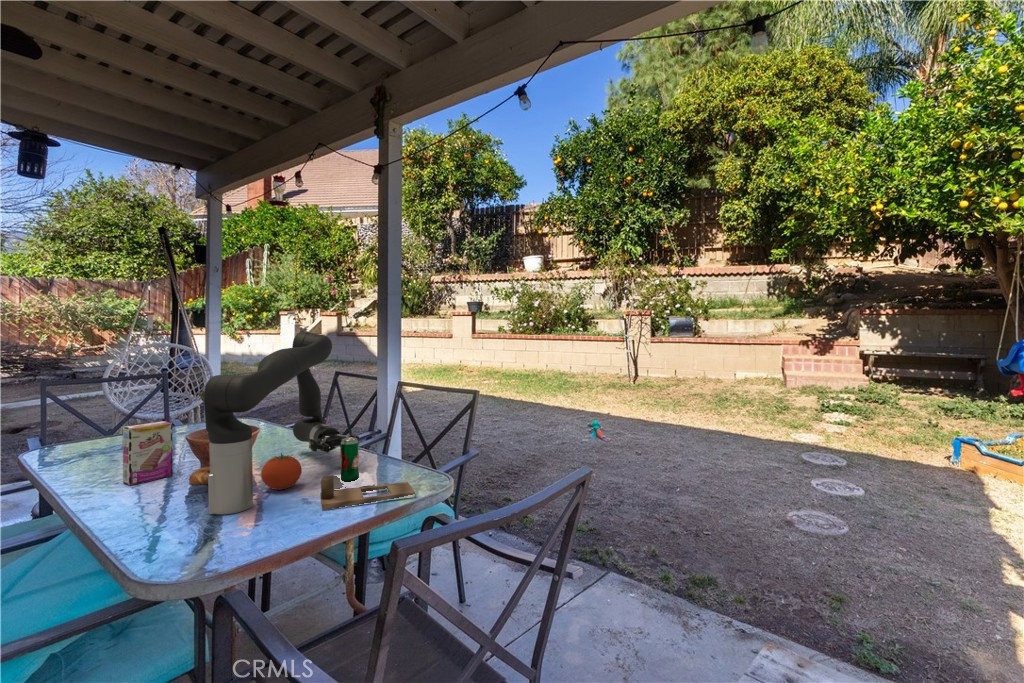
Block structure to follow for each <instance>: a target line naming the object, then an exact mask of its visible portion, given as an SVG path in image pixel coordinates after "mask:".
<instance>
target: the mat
mask: <svg viewBox="0 0 1024 683" xmlns="http://www.w3.org/2000/svg"><path fill="white" fill-rule="evenodd" d="M334 475H335V474H333V475H326V477H334V489H340V488H342V487H343V486H342V485H344V484H343V483H341V482H340V478H338V477H337V476H334ZM345 488H346V487H345Z"/></svg>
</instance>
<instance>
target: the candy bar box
mask: <svg viewBox="0 0 1024 683" xmlns="http://www.w3.org/2000/svg"><path fill="white" fill-rule="evenodd" d="M121 432H122V483H123V484H125V485H128V486H129V485H131V486H135V485H138V484H143V482H144V483H148V482H152V481H157V480H160V478H161V479H164V477H165V478H168V477H169V476H170V477H173V422H171V421H166V420H165V421H164V420H163V421H156V422H149V423H143V424H142V423H141V424H133V425H128V426H122V430H121ZM156 479H157V480H156ZM147 481H148V482H147Z"/></svg>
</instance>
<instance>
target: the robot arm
mask: <svg viewBox="0 0 1024 683" xmlns="http://www.w3.org/2000/svg"><path fill="white" fill-rule="evenodd" d="M332 349H333V343H332V340H331V339H330V337H328V336H326V335H324V334H320V333H315V332H311V331H299V332H298V333H296V335H295V336H294V338H293V341H292V347H287V348H282V349H277V350H275V351H274V352H271V353H269V354H267V355H266V356H265V357H263V358H262V359H261V360H260V361H259V363H258V366H257V369H256V372H252V373H250V374H217V375H214V376H212V377H210V378H209V379H208V380H207V381H206V383H205V386H204V390H203V407H204V420H205V429H206V432H207V435H208V438H209V439H208V440H209V442H208V443H209V445H208V446H209V449H208V450H209V453H208V454H209V467H210V474H209V475H208V487H207V488H208V489H207V490H208V515H231V514H232V515H233V514H237V513H241V512H243V511H246V510H248V509H251V508H252V507H253V505H254V490H253V489H254V483H253V482H254V481H253V474H254V473H253V472H254V471H253V431H252V427H251V426H250V425H249V424H247V423H244V422H242V421H241V420H239V419H238V417H236V416H235V414H234V413H236V414H237V413H246V412H249V411H251V410H252V409H254V408H255V407H256V406H258V404H260V403H261V402H262V401H263V400H264V399H265V398H266V397H267V396H269V395H270V394H271V393H273V392H274V391H276V390H277V389H278V388H280V387H282V385H285V384H287V383H288V382H289V381H291V380H292V379H294V378H295V377H296V380H297V386H298V412H299V414H300V415H301V416H303V417H305V418H304V419H300V420H297V421H296V422H295V423H294V424H293V426H292V434H293V436H294V437H295V439H296V440H298V441H300V442H303V443H305V442H306V443H308V449H310V450H311V451H312V452H317V451H318V450H319V451H320V452H325V453H326V454H328V453H330V452H331V451H334V450H335V449H337V448H340V443H341V441H342V439H344V438H349V437H354V438H357V441H358V442H359V443H360V436H359V435H357V434H354V433H349V434H348V435H343V434H341V432H339V430H338V429H337V428H336V427H333V426H330V425H328V424H325V422H326V421H325V420H324V418H323V413H322V409H321V408H322V407H321V406H322V405H321V404H322V402H321V401H322V393H321V392H322V391H321V388H320V386H319V384H318V382H317V380H316V379H315V377H314V375H313V373H312V372H311V369H310V368H312V367H314V366H316V365H319V364H321V363H323V362H325V361H326V360H327V359H328V358H329V357H330V355H331V352H332ZM306 417H307V418H306Z"/></svg>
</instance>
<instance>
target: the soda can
mask: <svg viewBox="0 0 1024 683" xmlns="http://www.w3.org/2000/svg"><path fill="white" fill-rule="evenodd" d="M348 437H349V436H348ZM359 446H360V441H359V442H358V441H357V438H354V437H349V438H344V439H342V441H341V443H340V447H339V452H340V454H339V455H340V459H339V460H340V462H339V464H340V474H341V480H342V481H344V482H351V481H355V480H357V479H358V478H359V472H360V468H359V466H360V465H359V464H360V462H359V458H360V457H359V454H360V453H359V449H360V448H359Z"/></svg>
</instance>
